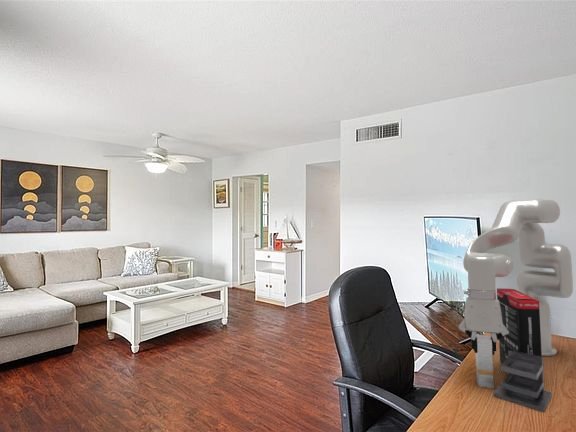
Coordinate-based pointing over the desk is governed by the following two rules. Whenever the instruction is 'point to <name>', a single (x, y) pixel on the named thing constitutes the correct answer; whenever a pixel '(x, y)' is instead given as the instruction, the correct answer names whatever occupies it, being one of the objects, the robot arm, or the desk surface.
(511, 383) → the collar stand
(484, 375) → the silver square metal bar
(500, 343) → the graphics card box
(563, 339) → the desk surface
